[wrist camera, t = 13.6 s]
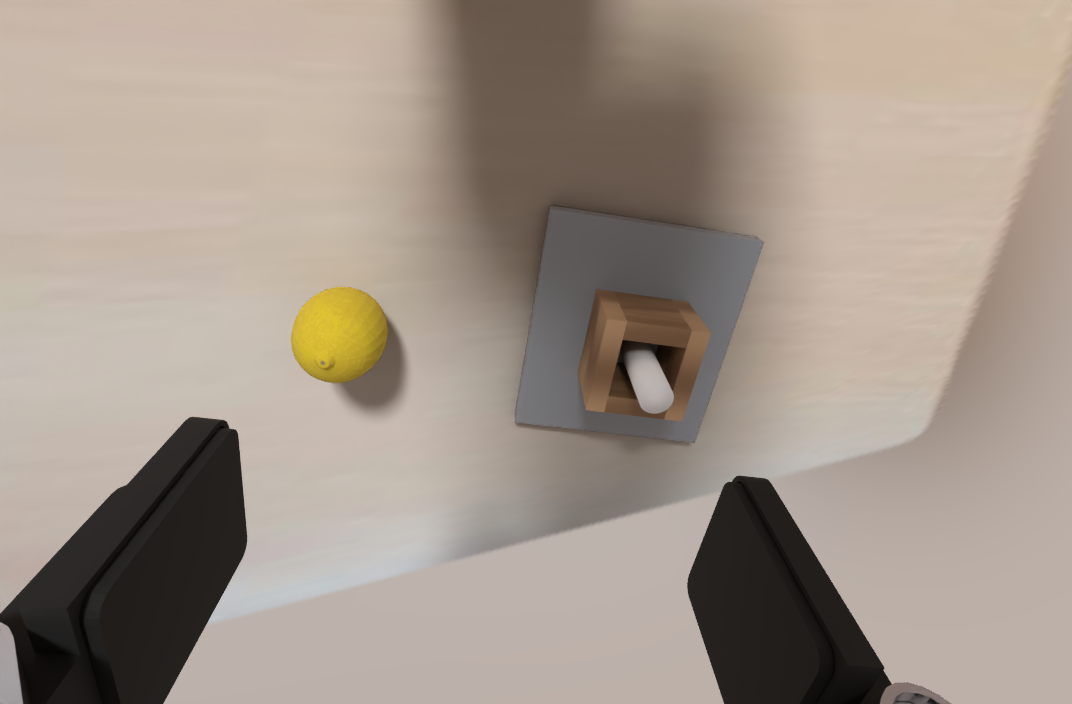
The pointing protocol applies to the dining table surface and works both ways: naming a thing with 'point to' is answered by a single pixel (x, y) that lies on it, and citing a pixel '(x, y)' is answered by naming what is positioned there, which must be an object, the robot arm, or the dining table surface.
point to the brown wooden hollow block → (646, 323)
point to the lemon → (339, 334)
